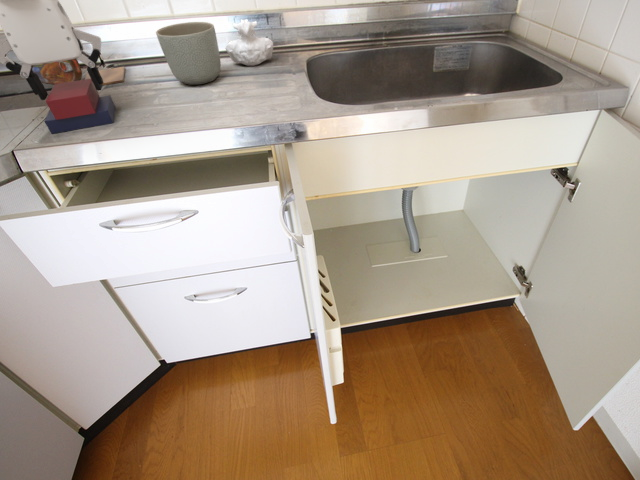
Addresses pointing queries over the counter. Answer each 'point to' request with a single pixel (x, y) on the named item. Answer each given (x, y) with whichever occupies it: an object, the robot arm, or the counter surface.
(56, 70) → the tin
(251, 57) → the bust
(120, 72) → the pad
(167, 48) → the planter
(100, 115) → the bottom book
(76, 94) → the top book
